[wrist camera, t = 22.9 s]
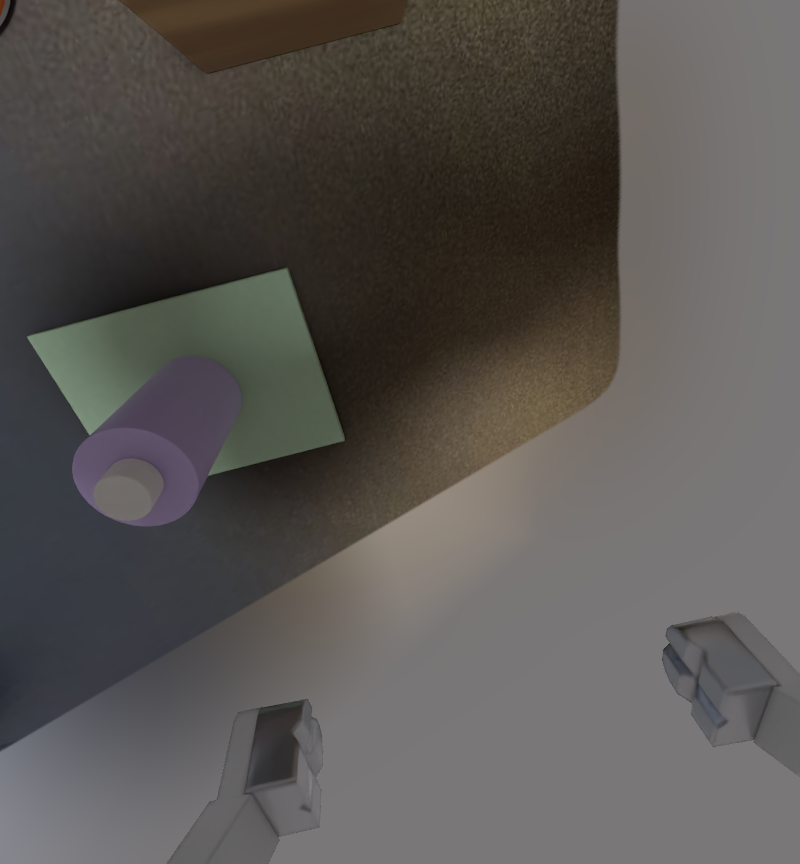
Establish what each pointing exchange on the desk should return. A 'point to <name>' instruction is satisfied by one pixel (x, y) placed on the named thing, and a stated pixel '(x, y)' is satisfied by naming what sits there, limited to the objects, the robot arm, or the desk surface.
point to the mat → (214, 339)
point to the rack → (259, 25)
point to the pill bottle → (3, 9)
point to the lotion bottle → (159, 444)
